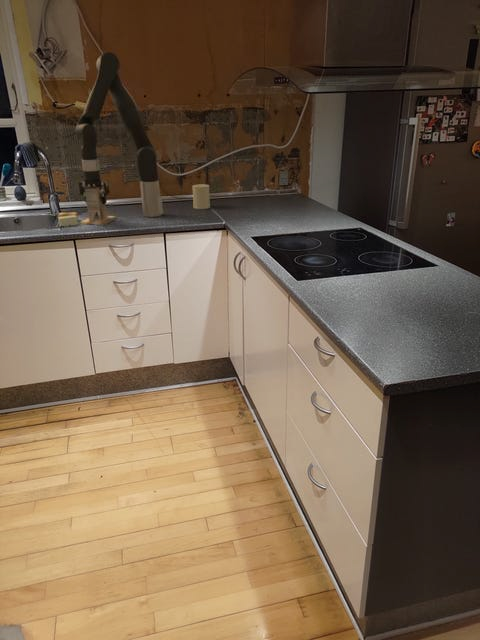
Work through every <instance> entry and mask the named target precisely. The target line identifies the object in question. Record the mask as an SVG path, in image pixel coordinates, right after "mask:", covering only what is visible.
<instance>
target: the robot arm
mask: <svg viewBox="0 0 480 640" xmlns="http://www.w3.org/2000/svg"><path fill="white" fill-rule="evenodd" d="M120 66H121V63H120V59H119V56H117V54H115V52H114V53H113V52H112V51H111V52H110V51H107V52H104V53H101V55H100V56H99V57H98V58H97V60H96V70H97V71H98V73H97V77H96V80H95V83H94V85H93V87H92V90H91V92H90V94H89V96H88V98H87V100H86V104H85V107H84V109H83V113H82V115H81V116H80V118H79V119H78V121H77V124H76V127H75V134H76V136H77V138H78V139H80V140H82V146H81V148H80V154H81V163H82V165H81V166H82V172H83V173H82V174H83V179H84V181H79V182H78V188H79V194H80V196H83V197H84V202H85V203H86V205H87V202H86V195H85V189H84V188H85V187H88V186H93V187H97V186H99V188H101V190H100V189H99V192H100V194H101V195H102V202H103V204H105V205H106V203H107V202H108V201H107V196H109V195H110V188H109V183H108V182H107V181H104V182H102V179H101V170H100V163H99V159H98V153H97V145H98V143H97V142H98V133H97V130H96V128H95V126H94V125H95V123H96V122H97V121H99V119H100V117H101V114H102V111H103V108H104V105H105V102H106V98H107V95H108V93H109V95H110V97H111V101H112V102H113V105H114V108H115V110H116V112H117V114H118V116H119V119H120V120H121V123H122V126H124V129H126V132H127V133H128V134H129V135H130V138H131V139H132V141H133V144H134V147H135V149H136V153H137V155H136V162H137V171H138V176H139V185H140V194H141V195H140V196H141V205H142V215H143V216H144V217H148V218H153V217H161V216H162V215H163V214H164V212H163V209H164V208H163V200H162V195H161V193H160V180H159V173H158V161H157V160H158V153H157V151H156V148H155V147H154V145H153V144H152V142H151V140H150V138H149V136H148V134H147V131H146V129H145V125H144V123H143V120H142V117H141V115H140V113H139V110H138V107H137V106H136V105H137V104H136V103H135V100H134V99H133V98H132V96H131V95H130V93H129V92H128V91H127V89H126V88H125V86H124V85H123V82H122V80H121V77H120V74H119V70H120ZM102 185H103V189H102V187H101V186H102Z"/></svg>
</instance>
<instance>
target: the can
mask: <svg viewBox="0 0 480 640" xmlns="http://www.w3.org/2000/svg"><path fill="white" fill-rule="evenodd" d="M191 189H192V199H193V200H192V201H193V202H192V205H193V209H195V210H206V209H210V208H211V203H210V201H211V200H210V198H211V197H210V185H209V184H203V183H201V184H199V183H198V184H194V185H192V188H191Z"/></svg>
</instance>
